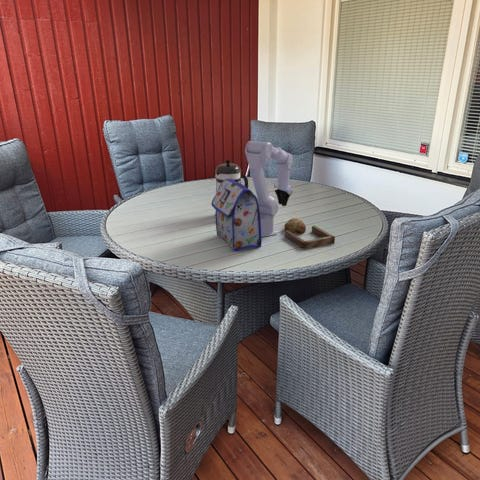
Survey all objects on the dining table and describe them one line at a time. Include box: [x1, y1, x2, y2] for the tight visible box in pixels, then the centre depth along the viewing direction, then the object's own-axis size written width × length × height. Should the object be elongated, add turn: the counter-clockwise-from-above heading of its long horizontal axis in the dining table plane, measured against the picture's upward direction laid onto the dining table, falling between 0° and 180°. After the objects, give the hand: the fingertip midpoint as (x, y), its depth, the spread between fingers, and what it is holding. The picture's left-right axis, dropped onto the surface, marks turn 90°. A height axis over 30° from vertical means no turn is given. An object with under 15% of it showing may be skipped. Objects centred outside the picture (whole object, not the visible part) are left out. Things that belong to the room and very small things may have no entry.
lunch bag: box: [210, 179, 263, 252], centre depth 172 cm, size 23×17×27 cm
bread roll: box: [283, 217, 307, 236], centre depth 188 cm, size 10×10×8 cm
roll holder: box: [284, 225, 336, 250], centre depth 178 cm, size 16×16×3 cm
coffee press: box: [214, 159, 249, 217], centre depth 204 cm, size 17×16×30 cm
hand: (282, 204), depth 196 cm, fingers open, 3 cm apart
